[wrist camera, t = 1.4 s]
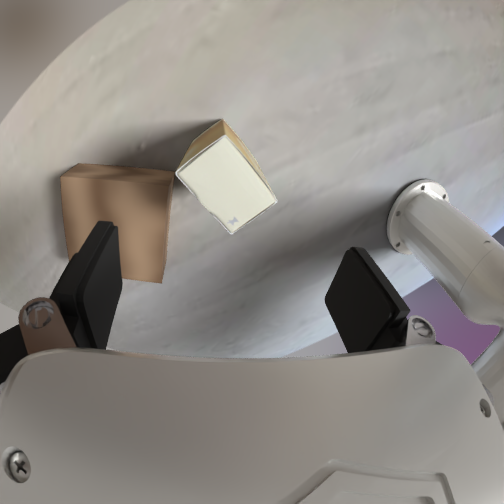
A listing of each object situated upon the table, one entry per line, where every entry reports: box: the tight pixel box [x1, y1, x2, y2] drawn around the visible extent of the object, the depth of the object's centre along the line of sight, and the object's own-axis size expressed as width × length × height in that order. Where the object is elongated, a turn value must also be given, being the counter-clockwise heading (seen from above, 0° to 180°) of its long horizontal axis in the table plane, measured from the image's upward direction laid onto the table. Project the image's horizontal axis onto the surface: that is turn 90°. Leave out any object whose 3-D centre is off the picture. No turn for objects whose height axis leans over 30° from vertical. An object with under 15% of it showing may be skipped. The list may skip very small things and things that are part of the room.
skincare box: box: [175, 119, 277, 234], centre depth 23 cm, size 6×4×12 cm
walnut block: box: [60, 163, 175, 283], centre depth 28 cm, size 12×12×5 cm
